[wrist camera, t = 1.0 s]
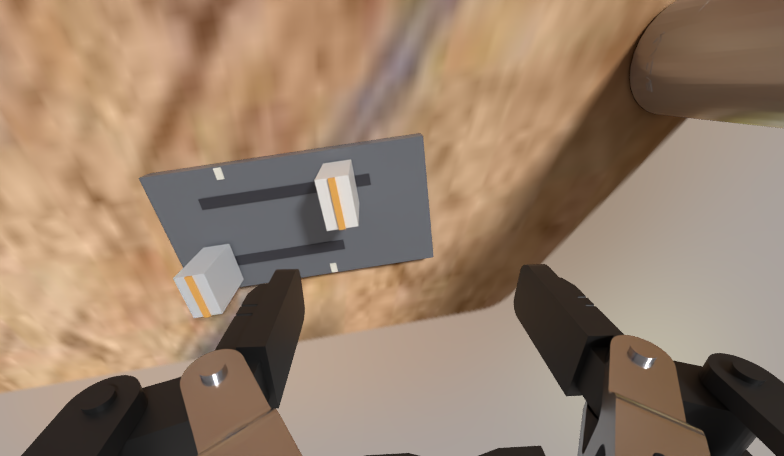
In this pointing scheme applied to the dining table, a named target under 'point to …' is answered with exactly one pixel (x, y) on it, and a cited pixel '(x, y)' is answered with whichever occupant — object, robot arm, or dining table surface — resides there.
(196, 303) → the grey fader
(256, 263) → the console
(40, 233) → the dining table surface
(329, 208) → the white fader
